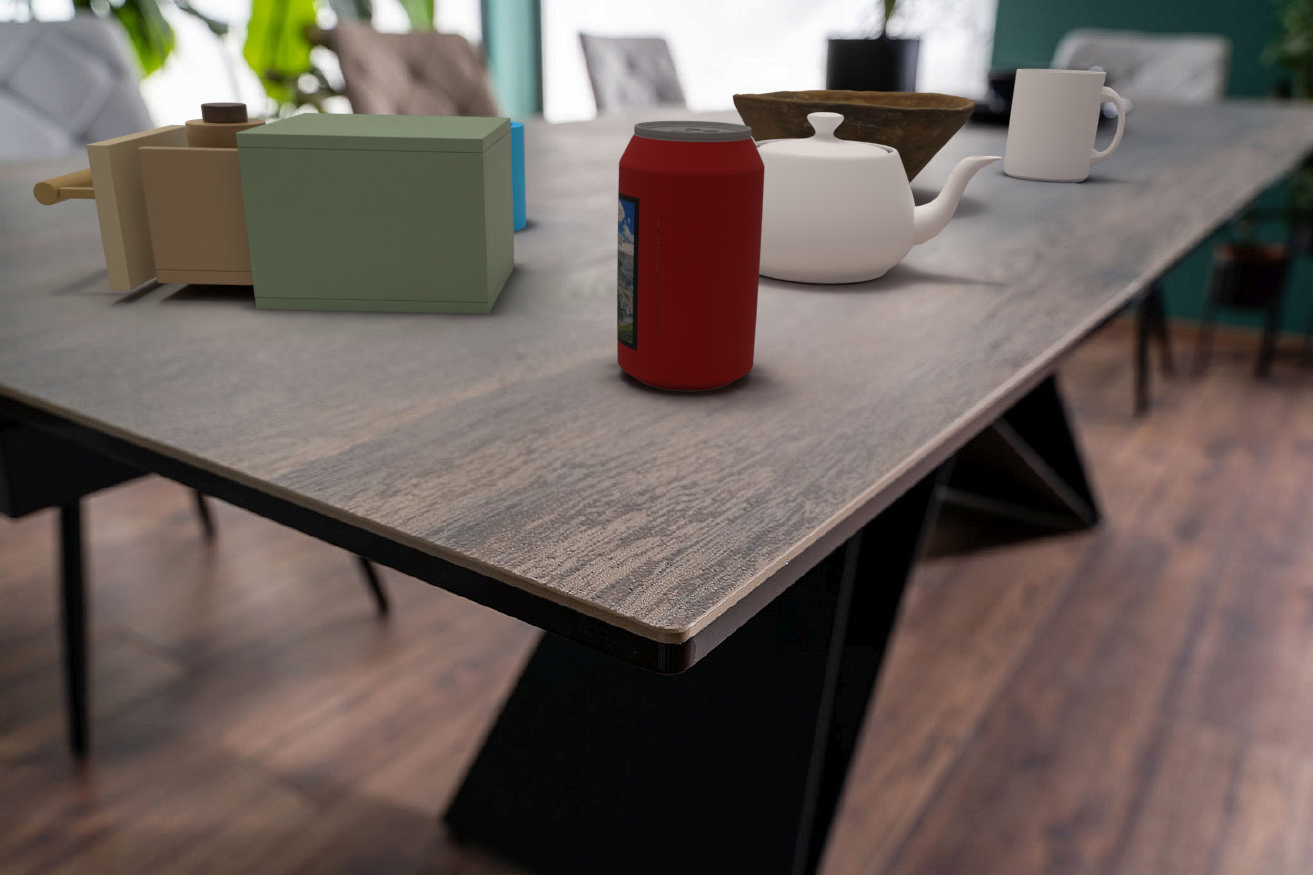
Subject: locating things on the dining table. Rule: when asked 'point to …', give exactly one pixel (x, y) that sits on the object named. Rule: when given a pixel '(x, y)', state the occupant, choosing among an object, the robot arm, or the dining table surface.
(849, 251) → the teapot
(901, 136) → the bowl
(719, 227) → the beverage can
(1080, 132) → the mug
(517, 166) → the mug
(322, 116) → the cabinet
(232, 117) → the pepper mill
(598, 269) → the dining table surface
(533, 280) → the dining table surface
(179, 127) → the drawer
